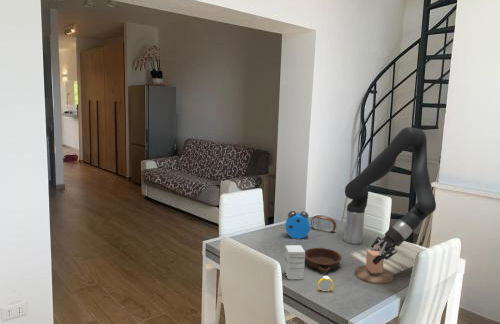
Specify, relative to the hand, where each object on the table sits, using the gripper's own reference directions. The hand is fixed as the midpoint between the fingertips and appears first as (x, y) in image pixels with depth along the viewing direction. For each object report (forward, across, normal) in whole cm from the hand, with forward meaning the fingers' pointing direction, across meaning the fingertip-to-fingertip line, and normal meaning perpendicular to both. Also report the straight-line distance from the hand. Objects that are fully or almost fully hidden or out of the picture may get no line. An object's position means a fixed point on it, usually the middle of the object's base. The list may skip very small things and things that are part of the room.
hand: (370, 260), depth 164 cm
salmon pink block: (+2, 0, +5) cm, 5 cm away
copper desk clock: (+6, -58, +5) cm, 58 cm away
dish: (+18, -13, -7) cm, 23 cm away
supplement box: (+29, -3, -18) cm, 34 cm away
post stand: (+4, 0, +6) cm, 7 cm away
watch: (+22, +11, -12) cm, 28 cm away
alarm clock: (+19, -49, -8) cm, 53 cm away
